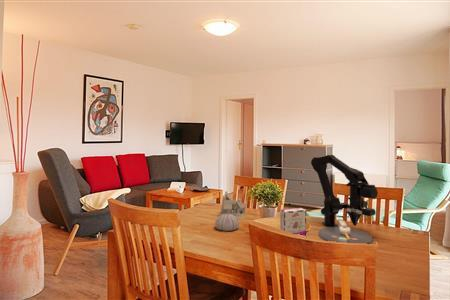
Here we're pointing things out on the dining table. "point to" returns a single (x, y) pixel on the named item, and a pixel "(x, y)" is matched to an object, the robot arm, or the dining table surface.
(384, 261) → the dining table surface
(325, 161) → the robot arm
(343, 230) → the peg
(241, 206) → the ceramic cottage
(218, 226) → the sea urchin shell
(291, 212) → the candy bar box
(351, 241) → the round gray plate
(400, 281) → the dining table surface
